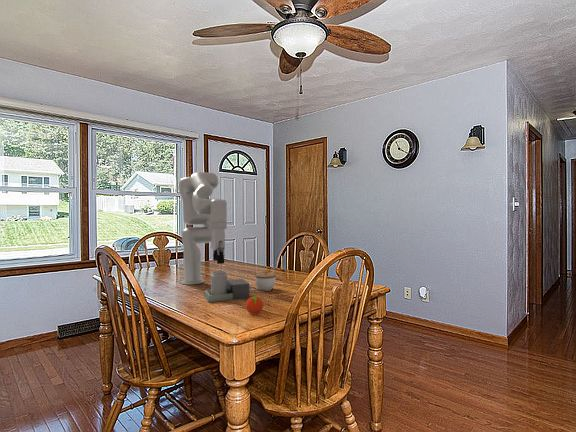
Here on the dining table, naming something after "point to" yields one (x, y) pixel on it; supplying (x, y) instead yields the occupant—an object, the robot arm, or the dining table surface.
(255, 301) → the tomato
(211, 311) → the dining table surface
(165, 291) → the dining table surface
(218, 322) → the dining table surface
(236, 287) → the frame
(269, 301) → the dining table surface
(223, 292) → the can
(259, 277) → the lidded jar
